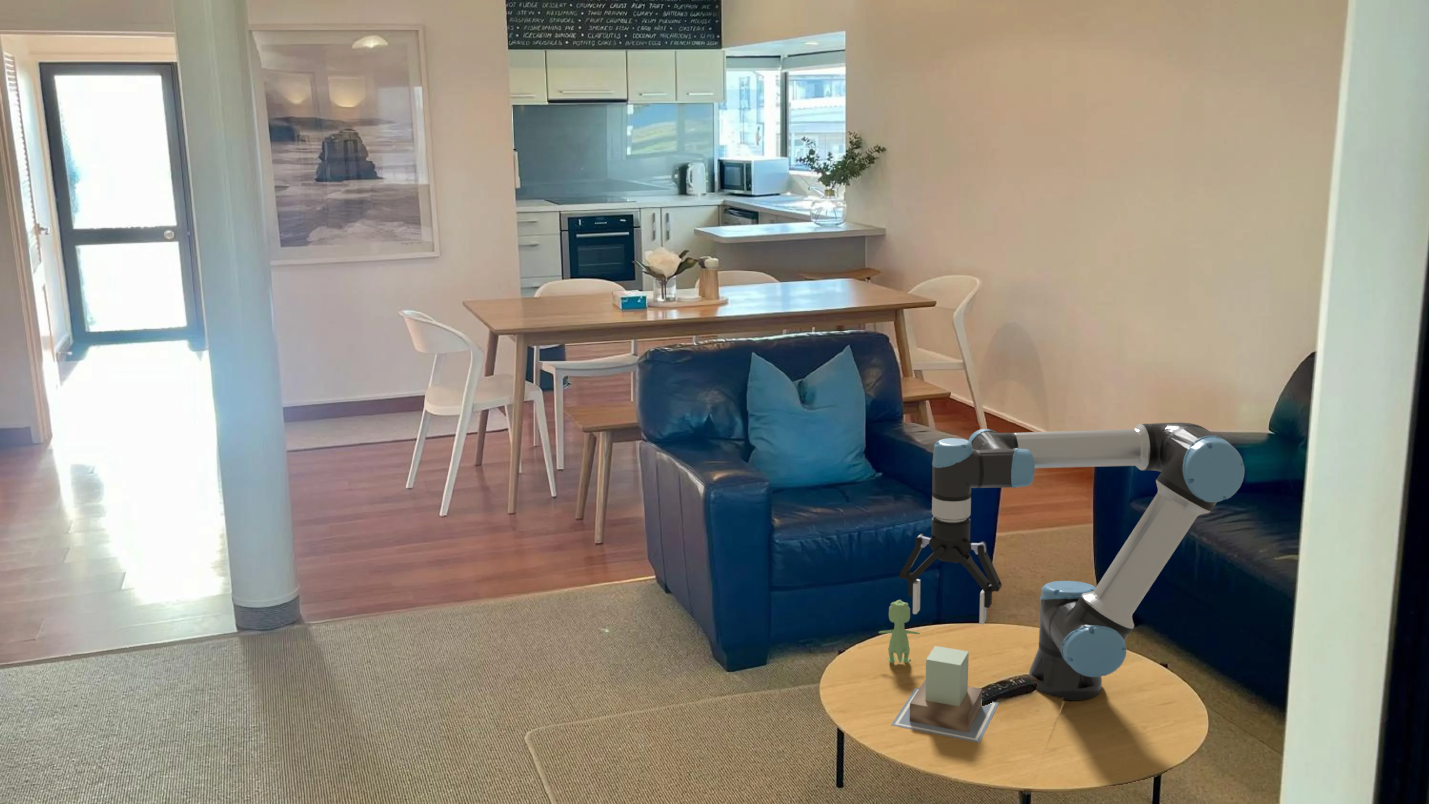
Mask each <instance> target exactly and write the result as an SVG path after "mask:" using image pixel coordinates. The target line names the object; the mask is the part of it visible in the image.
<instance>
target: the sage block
mask: <svg viewBox="0 0 1429 804" xmlns="http://www.w3.org/2000/svg"><path fill="white" fill-rule="evenodd" d="M969 656H970V655H969V651H967V650H962V649H957V648H952V647H951V648H950V647H946V646H945V647H943V646H940V645H939V646H938V645H935V646H934V647H933V648H932V650H931V651H930V653H929V654H928V655H927V657H926V659H925V679H926V690H925V700H927V701H932V702H938V703H943V704H948V705H954V706H960V704H961V703H962V701H963V699H964V697H965V695H966V694H967V692H968V684H969Z"/></svg>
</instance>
